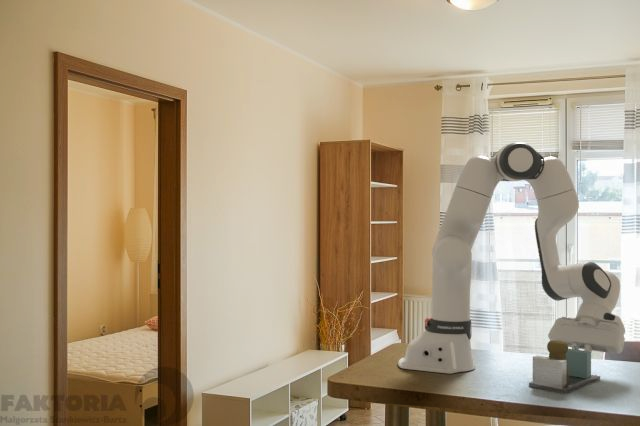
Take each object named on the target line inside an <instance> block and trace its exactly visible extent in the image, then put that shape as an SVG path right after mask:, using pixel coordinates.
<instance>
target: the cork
mask: <svg viewBox="0 0 640 426" xmlns="http://www.w3.org/2000/svg"><path fill="white" fill-rule="evenodd" d="M546 347H547V348H546V349H547V351H548V352H549V354H548V357H550V358H556V359H562V360H567V359H566V353H567V351H568V349H569V347H568V345H567V343H566V342H564V341H561V340H552V341H550V340H549V341H548V343H547V345H546ZM568 384H570V382H569V375H568V367H567V363H566V385H568Z"/></svg>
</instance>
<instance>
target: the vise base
mask: <svg viewBox="0 0 640 426" xmlns="http://www.w3.org/2000/svg"><path fill="white" fill-rule="evenodd" d="M566 363H567V360H562V359H556V358H550V357H549V356H543V355H533V356H532V381H530V382H528V387H530V388H534V389H535V388H536V389H538V390H539V389H540V390H544V391H549V392H554V393H559V394H564V395H567V394H569V393H571V392H574V391H576V390H579V389H581V388H584V387H587V386H588V385H591V384H593V383H596V382H598V381H601V376H600V375H597V374H591V377H589V378H586V379H585V378H580V377H574V376H569V382H570V384H568V385H566Z"/></svg>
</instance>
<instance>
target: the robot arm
mask: <svg viewBox="0 0 640 426" xmlns="http://www.w3.org/2000/svg"><path fill="white" fill-rule="evenodd" d="M502 181H503V182H518V181H526V182H527V183H528V184H529V185H530V186H531V188H532V190H533V191H534V196H535V199H536V203H537V209H538V212H537V218H536V219H535V221H534V232H535V233H534V234H535V240H536V246H537V251H538V257H539V262H540V264H539V265H540V270H541V286H542V289H543V291H544V293H545V294H546V295H547V296H548V297H549V298H550V299H552V300H554V301H557V302H558V301H563V300H569V299H572V298H574V299H575V298H581V299H582V302H581V304H580V306H579V308H578V311H577V313H576V315H575V317H567V316H561V317H559V318H557V319H555V321H554V323H553V325H552V327H551V328H550V330H549V332H548V334H547V337H548V339H549V341H552V340H561V341H564V342H566V343H567V345H568V348H571V349H575V350H582V351H588V352H591V353H592V352H600V353H606V354H613V355H619V354H620V353H622V352H623V349H624V345H625V339H626V338H625V336H624V335H625V334H626V328H625V324H624V323H623V321H622V319H621V317H620V316H619V315H616V314H614V313H612V312H613V311H614V309H615V308H616V307H617V303H618V300H619V297H620V292H621V281H620V279H619V278H618V277H617V275H616V274H614V273H613V272H611V271H608V270H604V269H603V268H602V267H601V266H599V265H598V264H597V263H596V262H594V261H584V262H577V263H573V264H569V265H567V264H566V265H562V264H561V263H560V258H559V250H558V245H557V239H556V238H557V234H558V232H559V231H560V230H561V229H562V228H563V227H565V225H567V224H568V223H570V222H571V221H572V220H573V219H574V218H575V216H576V215H577V214H578V211H579V207H580V206H579V205H580V203H579V202H580V201H579V197H578V194H577V191H576V188H575V186H574V182H573V180H572V178H571V176H570V173H569V171H568V169H567V168H566V166H565V164H564V162H563V161H562V160H561V158H558V157H555V156H546V157H544V156H542V154H540V153H539V151H537V150H536V149H535V148H534V147H532V146H531V145H529V144H528V143H525V142H520V141H518V142H517V141H516V142H512V143H508V144H506V145H504V146H502V147H501V148H500V149H499V150H498V151H496V153H494V154H493V155H492V156H491V157H487V156H484V155H475V156H472V157H470V158H469V159H468V161H467V162H466V163H465V165H464V167H463V169H462V171H461V173H459V177H458V179H457V182H456V184H455V187H454V189H453V192H452V194H451V195H452V196H451V197H450V200H449V202H448V203H449V204H448V205H447V209H446V212H445V215H444V216H443V219H442V222H441V225H440V227H439V230H438V232H437V235H436V238H435V240H434V244H433V246H432V248H431V249H432V250H431V255H432V282H431V283H432V285H431V286H432V287H431V288H432V289H431V294H432V295H431V317H426V318H425V319H424V329H425V330H424V331H423V332H421V333H420V334H419V335H417V336H416V337H415V338H414V339H412V340H411V341H410V342H409V343H408V345H407V347H406V351H405V356H404V357H401V358H400V359H398V362H397V363H398V364H397V365H398V368H401V369H405V370H413V371H414V370H415V371H421V372H431V373H440V374H441V373H442V374H451V375H452V374H455V373H461V372H468V371H472V370H475V368H476V365H475V362H474V358H473V352H472V343H471V339H472V334H473V333H472V332H473V331H472V330H473V328H472V326H473V325H472V319H471V318H470V317H471V311H470V310H471V306H470V305H471V302H470V301H471V300H470V299H471V283H472V282H471V281H472V256H473V255H472V249H473V246H474V245H475V244H474V243H475V241H476V238H477V236H478V234H479V233H480V229H481V227H482V225H483V222H484V220H485V217H486V214H487V212H488V209H489V206H490V204H491V201H492V197H493V195H494V192H495V190H496V188H497V186H498V184H499V183H500V182H502Z"/></svg>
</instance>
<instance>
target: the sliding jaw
mask: <svg viewBox="0 0 640 426" xmlns="http://www.w3.org/2000/svg"><path fill="white" fill-rule="evenodd" d="M566 359H567V367H568V375H569V376H574V377H580V378H585V379H586V378H589V377H591V375H592V352H588V351H583V349H579V350H575V349H572V348H568V351H567V353H566Z"/></svg>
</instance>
